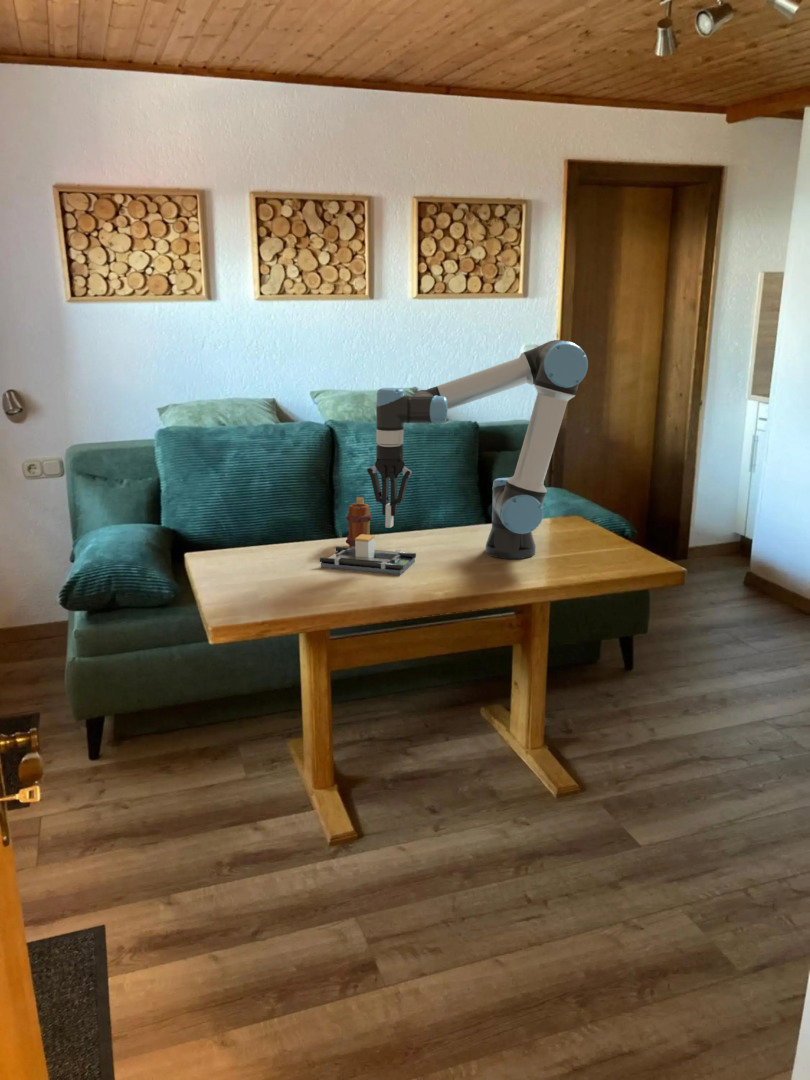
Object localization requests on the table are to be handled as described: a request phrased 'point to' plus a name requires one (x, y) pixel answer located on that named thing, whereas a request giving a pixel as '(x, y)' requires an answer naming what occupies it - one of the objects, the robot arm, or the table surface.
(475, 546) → the table surface
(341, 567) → the panel
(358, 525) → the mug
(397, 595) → the table surface
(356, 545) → the orange grey block
